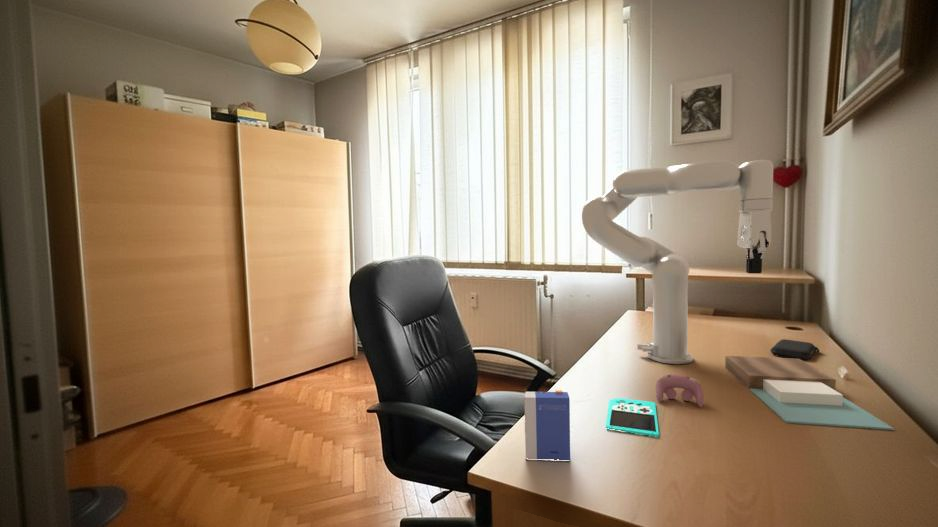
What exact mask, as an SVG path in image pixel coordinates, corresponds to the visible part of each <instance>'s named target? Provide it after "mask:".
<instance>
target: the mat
mask: <svg viewBox="0 0 938 527" xmlns="http://www.w3.org/2000/svg"><path fill="white" fill-rule="evenodd" d="M749 390H750V391H751V393H752V394H753V395H754V396H756V397H757V398H758V399H759V400H760V401H761V402H763V404H765V405H766V406H767V407H768V408H770V410H771V411H773V412H774V413H775V414H776V415H777V416H778V417H780V419H781V420H782V421H784V422H785V423H787V424H798V425H799V424H800V425H814V426H815V425H816V426H826V427H827V426H828V427H829V426H830V427H840V428H841V427H842V428H857V429H858V428H859V429H869V428H870V430H872V429H873V430H883V431H885V430H886V431H894V430H895V429H894V427H892V426H890V425H889V424H888V423H886V422H885V421H882V420H881V419H879V418H877V417H876V415H875V416H874V415H873V414H872V413H870V412H868V411H866V410H865V409H863V408H862V407H860V406H859V405H857V404H855V403H853V402H852V401H850V400H849V399H847V398H845V397H844V396H843V404H842V406H840V405H821V404H803V403H785V402H779V401H778V400H777V399H775V398H774V397H773V396H771V395H770V394H769V393H768V392H766V391H765V390H764V389H752V388H750V389H749Z"/></svg>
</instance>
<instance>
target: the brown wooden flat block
mask: <svg viewBox="0 0 938 527" xmlns="http://www.w3.org/2000/svg"><path fill="white" fill-rule="evenodd" d="M724 358H725V359H724V361H725V362H724V363H725V366H724V368H725V369H726V370H727V371H728V372H729V373H730V374H731V375H732V376H734V377H735V378H736V379H737V380H738V381H739V382H740V383H742V384H743V385H744V387H746V388H747V389H748V390H750V388H752V389H763V379H769V380H792V381H815V382H822V383H823V384H825V385H827V386H828V387H830V388H832V389H834V390H835V391H836V388H837V387H836V385H837V384H836V383H837V382H836V381H837V379H836V378H834V377H832V376H830V375H829V374H827V373H825V372H824V371H822V370H819V369H818V368H816V367H815V366H813V365H811V364H810V363H807V362H806V361H805V360H800V359H795V358H787V357H770V356H769V357H763V356H739V355H738V356H737V355H736V356H734V355H725V356H724Z"/></svg>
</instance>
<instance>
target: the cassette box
mask: <svg viewBox="0 0 938 527" xmlns="http://www.w3.org/2000/svg"><path fill="white" fill-rule="evenodd" d="M763 389H764V390H765V391H766V392H768V393H769V394H770V395H771V396H773V397H774V398H775V399H777V400H778V401H779V402H785V403H803V404H821V405H840V406H842V404H843V397H844V395H843V394H842V393H841V392H839V391H838V390H836V389H835V390H834V389H832V388H830V387H828V386H827V385H825V384H823V383H822V382H815V381H792V380H769V379H763Z"/></svg>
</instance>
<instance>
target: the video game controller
mask: <svg viewBox="0 0 938 527" xmlns="http://www.w3.org/2000/svg"><path fill="white" fill-rule="evenodd" d="M675 388H677V389H678V388H679V389H683V390H682V392H681V393H680V396H681V399H682V401H685V402H689V401H691V399H693V397H694V398H695V400H696V403H697V406H698V407H699V408H703V406H704V392H703V387H702V385H701V383H700V382H699V381H698V380H696V379H695V378H693V377H690V376H686V375H682V374H665V375H662V376H661V377H659V378H658V379H657V380H656V383H655V395H656V400H657V402H658V403H662V401H663V398H664V394H665V395H666V398H668V399H669V400H675V399H676V398H677V396H678V395H677V394H678V393H677V391H676V390H675Z"/></svg>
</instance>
